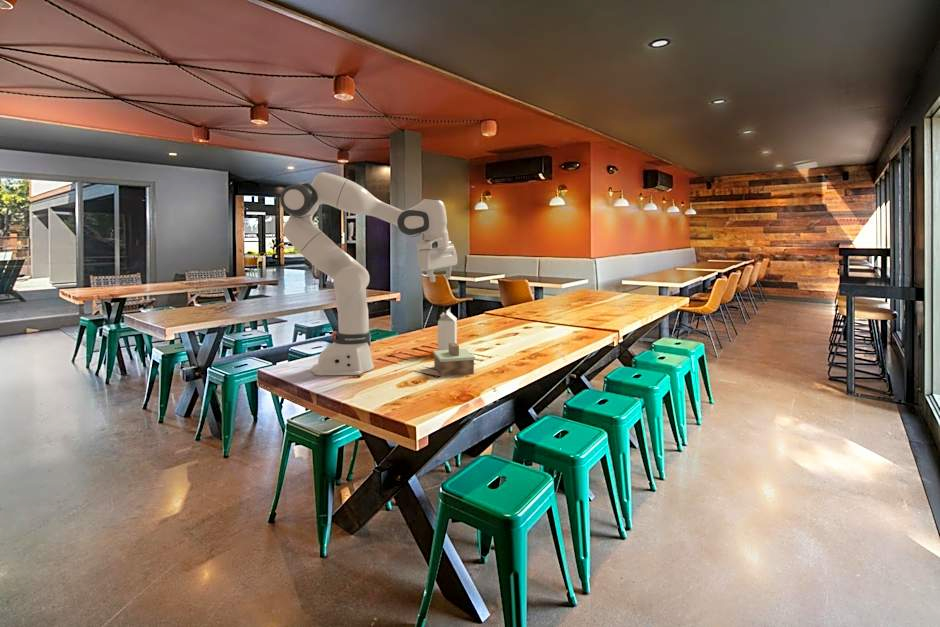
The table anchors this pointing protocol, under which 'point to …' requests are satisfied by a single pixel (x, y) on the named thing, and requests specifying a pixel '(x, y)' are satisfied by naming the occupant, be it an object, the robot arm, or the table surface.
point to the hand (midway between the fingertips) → (440, 280)
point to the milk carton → (447, 330)
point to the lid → (453, 354)
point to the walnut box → (454, 367)
